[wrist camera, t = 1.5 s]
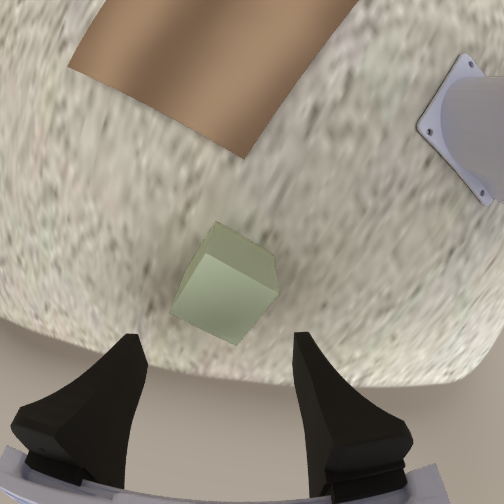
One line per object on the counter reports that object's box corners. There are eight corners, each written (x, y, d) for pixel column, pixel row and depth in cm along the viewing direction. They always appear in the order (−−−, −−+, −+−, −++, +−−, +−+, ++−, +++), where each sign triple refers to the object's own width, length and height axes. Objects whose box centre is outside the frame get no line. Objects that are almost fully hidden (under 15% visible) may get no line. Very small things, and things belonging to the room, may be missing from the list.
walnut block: (348, 9, 14) (363, -6, 11) (245, 152, 18) (243, 159, 15) (190, -66, 11) (182, -87, 8) (90, 70, 15) (67, 66, 13)
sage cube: (273, 254, 21) (279, 293, 17) (238, 300, 23) (236, 346, 18) (215, 220, 20) (205, 252, 16) (184, 271, 22) (169, 312, 17)
